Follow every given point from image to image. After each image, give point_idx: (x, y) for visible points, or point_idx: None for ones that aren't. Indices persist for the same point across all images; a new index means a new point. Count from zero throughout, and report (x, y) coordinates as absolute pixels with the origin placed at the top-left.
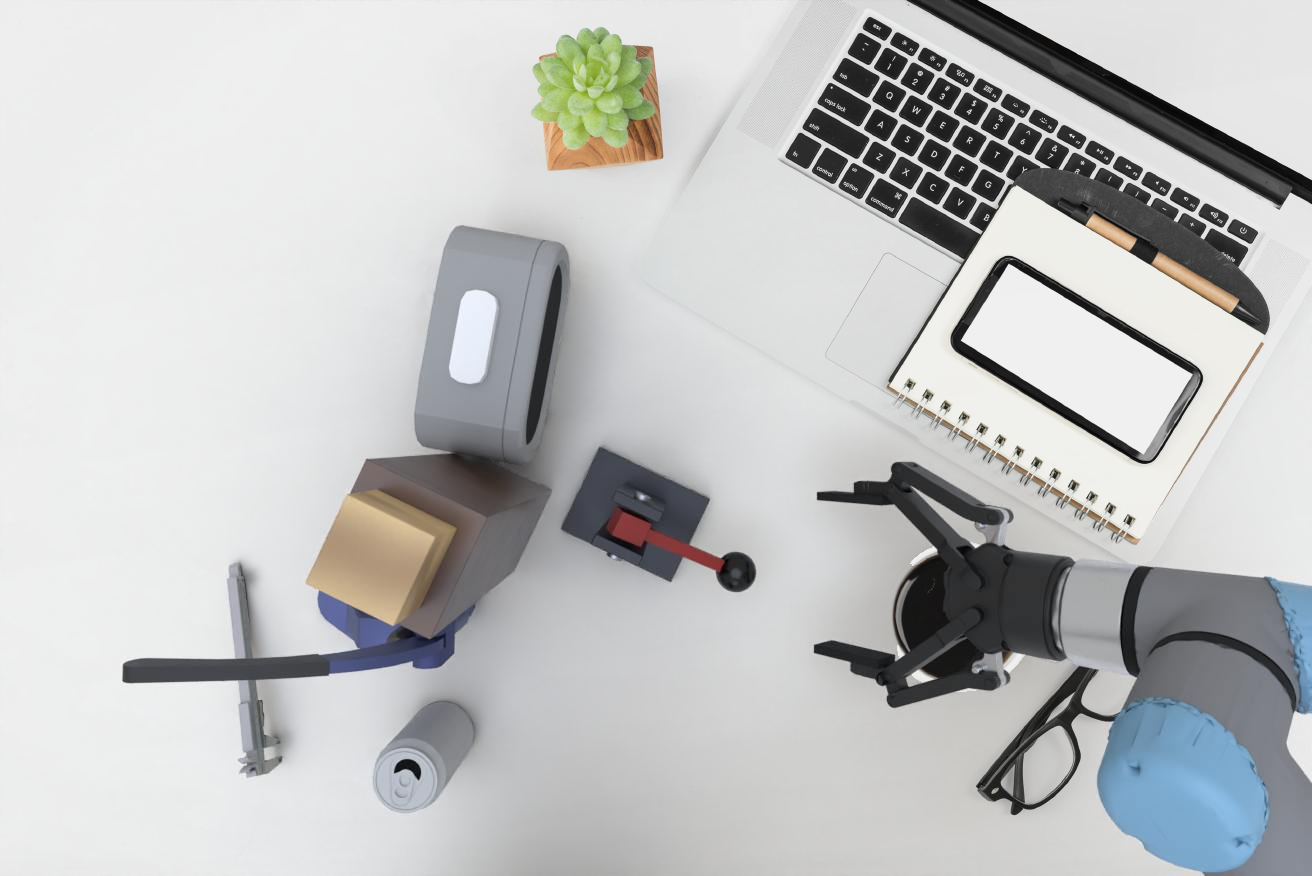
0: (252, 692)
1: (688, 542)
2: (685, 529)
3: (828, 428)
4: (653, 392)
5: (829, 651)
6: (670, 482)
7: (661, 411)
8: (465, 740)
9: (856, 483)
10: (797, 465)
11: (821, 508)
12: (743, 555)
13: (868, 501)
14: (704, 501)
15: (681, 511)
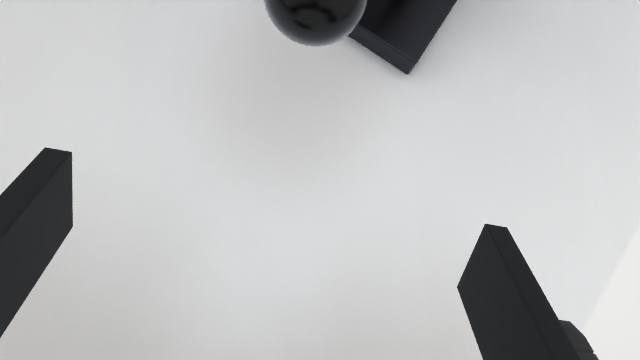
0: None
1: None
2: None
3: None
4: (592, 19)
5: (37, 178)
6: (451, 2)
7: (561, 25)
8: None
9: (573, 328)
10: (460, 251)
11: (369, 290)
12: (362, 6)
13: (559, 351)
14: (412, 53)
15: (397, 8)
